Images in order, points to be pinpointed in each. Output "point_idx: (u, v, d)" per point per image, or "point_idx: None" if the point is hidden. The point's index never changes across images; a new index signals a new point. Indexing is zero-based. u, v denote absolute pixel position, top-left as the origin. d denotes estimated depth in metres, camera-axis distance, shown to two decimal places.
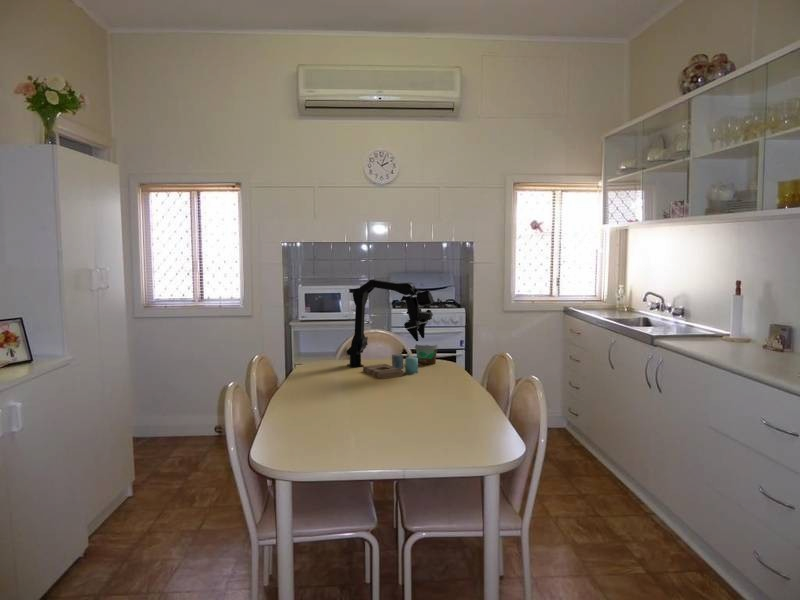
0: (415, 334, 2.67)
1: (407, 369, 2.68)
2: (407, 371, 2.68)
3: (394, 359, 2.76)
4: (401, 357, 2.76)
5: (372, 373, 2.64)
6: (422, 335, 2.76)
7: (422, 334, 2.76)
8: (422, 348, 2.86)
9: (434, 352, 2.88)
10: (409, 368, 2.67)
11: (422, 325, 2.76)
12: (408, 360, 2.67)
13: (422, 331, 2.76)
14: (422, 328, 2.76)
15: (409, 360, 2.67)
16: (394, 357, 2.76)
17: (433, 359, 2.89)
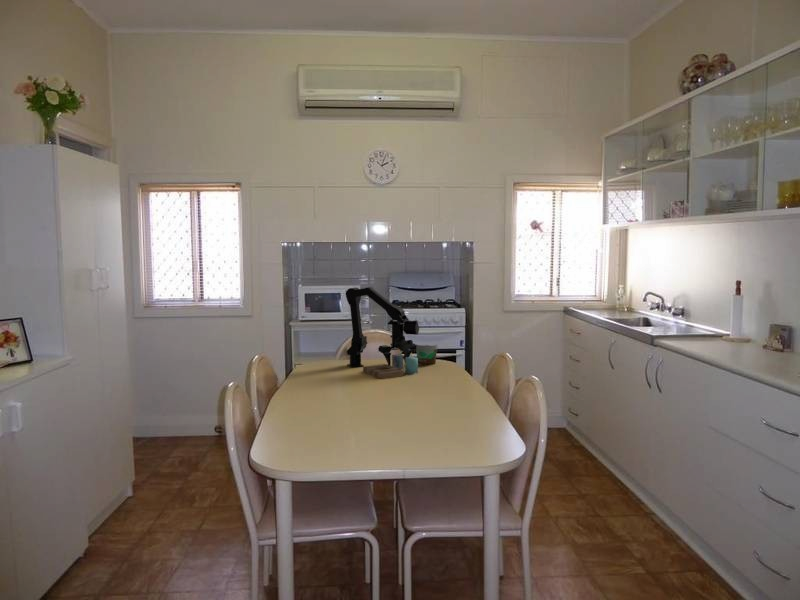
0: (387, 359, 2.75)
1: (407, 369, 2.68)
2: (407, 371, 2.68)
3: (394, 359, 2.76)
4: (401, 357, 2.76)
5: (372, 373, 2.64)
6: None
7: None
8: (422, 348, 2.86)
9: (434, 352, 2.88)
10: (409, 368, 2.67)
11: (407, 352, 2.79)
12: (408, 360, 2.67)
13: None
14: (406, 354, 2.79)
15: (409, 360, 2.67)
16: (394, 357, 2.76)
17: (433, 359, 2.89)
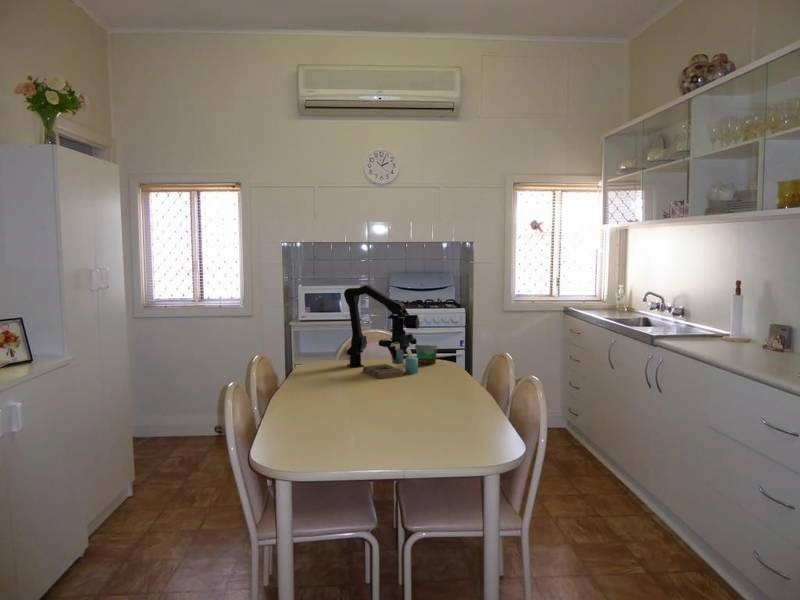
0: (392, 353, 2.75)
1: (407, 369, 2.68)
2: (407, 371, 2.68)
3: (395, 353, 2.76)
4: (401, 351, 2.76)
5: (372, 373, 2.64)
6: None
7: None
8: (422, 348, 2.86)
9: (434, 352, 2.88)
10: (409, 368, 2.67)
11: (403, 346, 2.77)
12: (408, 360, 2.67)
13: None
14: None
15: (409, 360, 2.67)
16: None
17: (433, 359, 2.89)
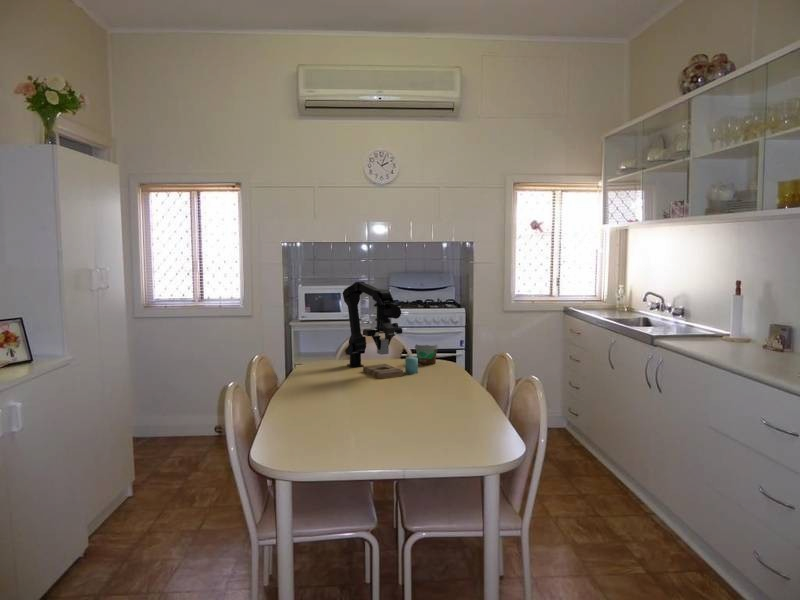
0: (376, 342, 2.65)
1: (407, 369, 2.68)
2: (407, 371, 2.68)
3: None
4: (386, 341, 2.66)
5: (372, 373, 2.64)
6: None
7: None
8: (422, 348, 2.86)
9: (434, 352, 2.88)
10: (409, 368, 2.67)
11: (388, 336, 2.67)
12: (408, 360, 2.67)
13: None
14: None
15: (409, 360, 2.67)
16: None
17: (433, 359, 2.89)
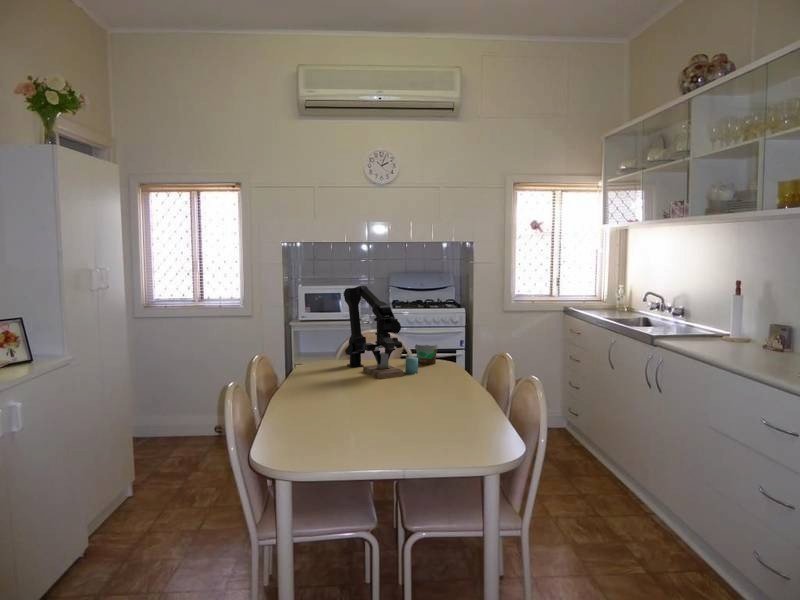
0: (376, 357, 2.66)
1: (407, 369, 2.68)
2: (407, 371, 2.68)
3: None
4: (386, 355, 2.66)
5: (372, 373, 2.64)
6: None
7: None
8: (422, 348, 2.86)
9: (434, 352, 2.88)
10: (409, 368, 2.67)
11: (388, 350, 2.68)
12: (408, 360, 2.67)
13: None
14: None
15: (409, 360, 2.67)
16: None
17: (433, 359, 2.89)
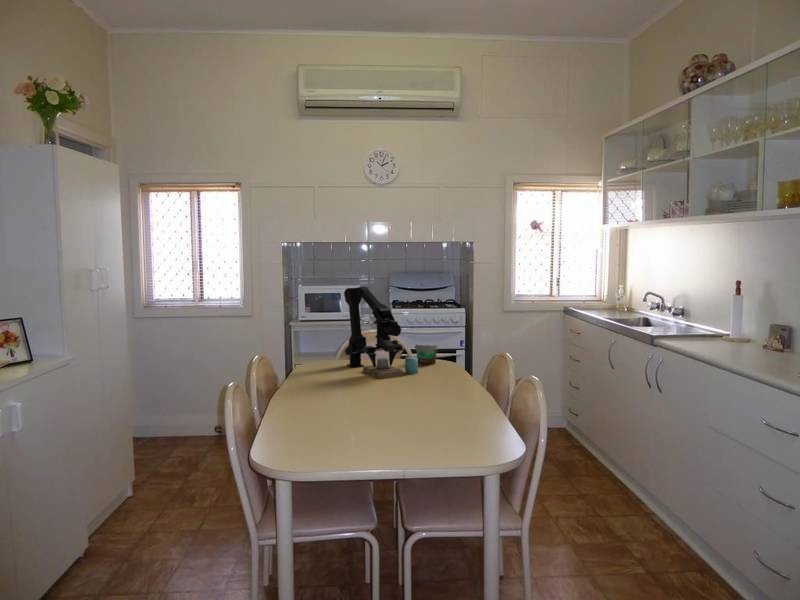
0: (372, 360, 2.65)
1: (407, 369, 2.68)
2: (407, 371, 2.68)
3: (379, 363, 2.66)
4: (386, 361, 2.67)
5: (372, 373, 2.64)
6: (390, 362, 2.70)
7: (390, 361, 2.70)
8: (422, 348, 2.86)
9: (434, 352, 2.88)
10: (409, 368, 2.67)
11: (392, 352, 2.69)
12: (408, 360, 2.67)
13: (391, 358, 2.70)
14: (391, 355, 2.69)
15: (409, 360, 2.67)
16: (379, 361, 2.66)
17: (433, 359, 2.89)
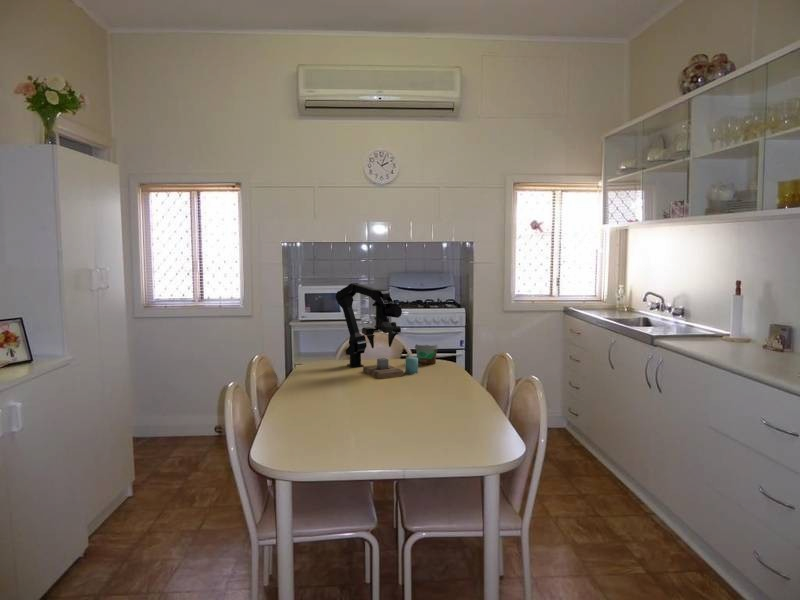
0: (370, 341, 2.70)
1: (407, 369, 2.68)
2: (407, 371, 2.68)
3: (379, 363, 2.66)
4: (386, 361, 2.67)
5: (372, 373, 2.64)
6: (389, 344, 2.76)
7: (389, 343, 2.75)
8: (422, 348, 2.86)
9: (434, 352, 2.88)
10: (410, 368, 2.67)
11: (391, 334, 2.74)
12: (409, 360, 2.67)
13: (390, 340, 2.75)
14: (390, 337, 2.75)
15: (410, 360, 2.67)
16: (379, 361, 2.66)
17: (433, 359, 2.89)
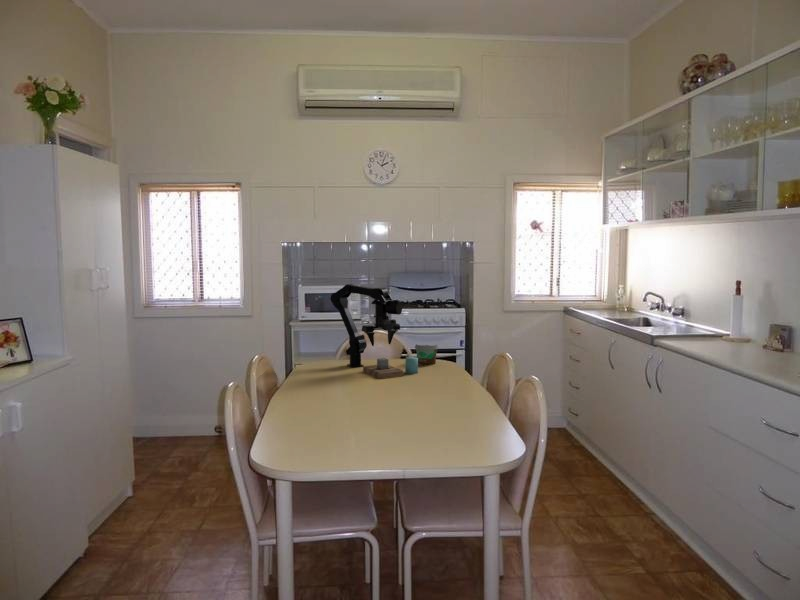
0: (371, 339, 2.74)
1: (407, 369, 2.68)
2: (407, 371, 2.68)
3: (379, 363, 2.66)
4: (386, 361, 2.67)
5: (372, 373, 2.64)
6: (389, 341, 2.79)
7: (389, 340, 2.79)
8: (422, 348, 2.86)
9: (434, 352, 2.88)
10: (410, 368, 2.67)
11: (391, 332, 2.78)
12: (409, 360, 2.67)
13: (389, 337, 2.79)
14: (390, 335, 2.78)
15: (410, 360, 2.67)
16: (379, 361, 2.66)
17: (433, 359, 2.89)
